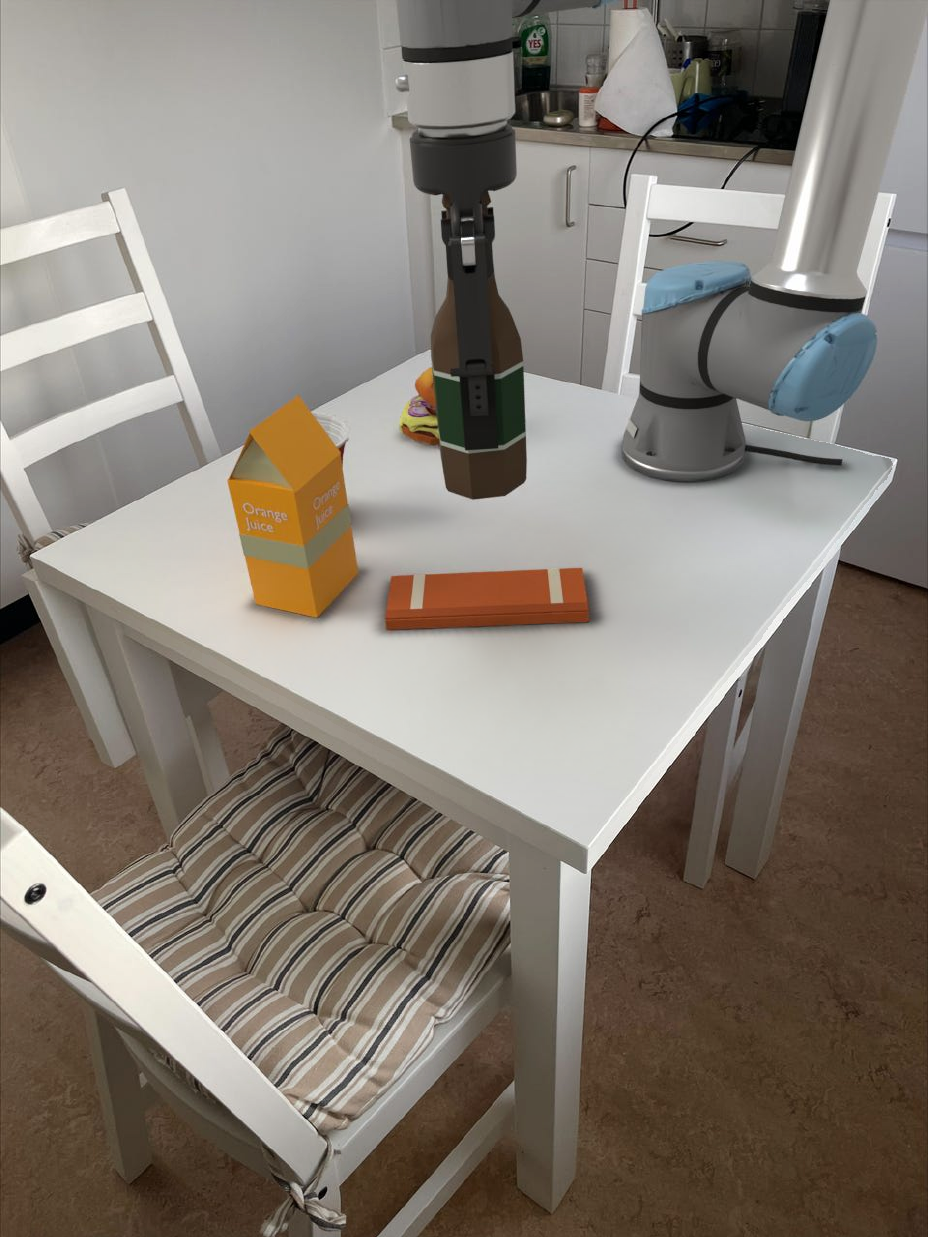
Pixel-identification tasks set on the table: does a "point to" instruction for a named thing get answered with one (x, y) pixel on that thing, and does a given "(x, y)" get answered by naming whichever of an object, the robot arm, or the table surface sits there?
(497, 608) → the towel
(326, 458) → the orange juice
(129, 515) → the table surface
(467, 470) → the beer bottle
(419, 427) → the cheeseburger
